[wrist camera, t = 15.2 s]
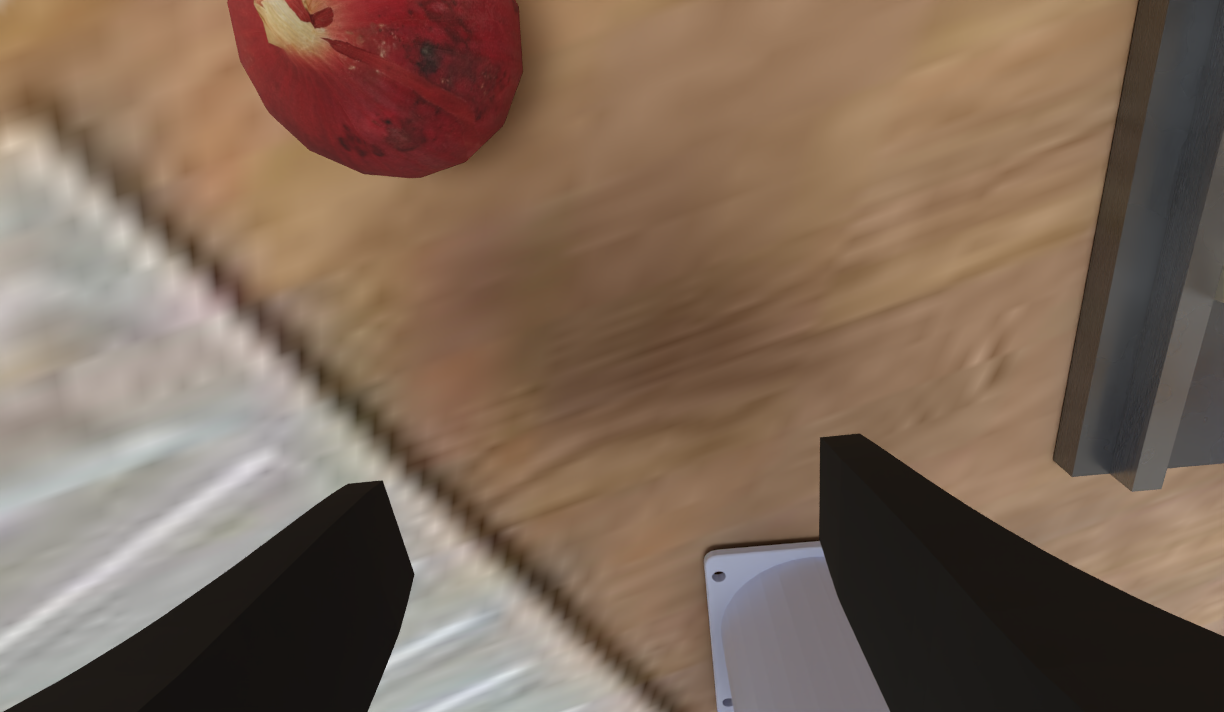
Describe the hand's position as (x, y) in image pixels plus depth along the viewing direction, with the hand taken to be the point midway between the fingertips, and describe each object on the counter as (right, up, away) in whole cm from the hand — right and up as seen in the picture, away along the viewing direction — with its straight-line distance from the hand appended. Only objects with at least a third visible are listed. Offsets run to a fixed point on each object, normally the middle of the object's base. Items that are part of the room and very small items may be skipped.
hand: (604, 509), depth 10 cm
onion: (-5, +11, +7) cm, 14 cm away
